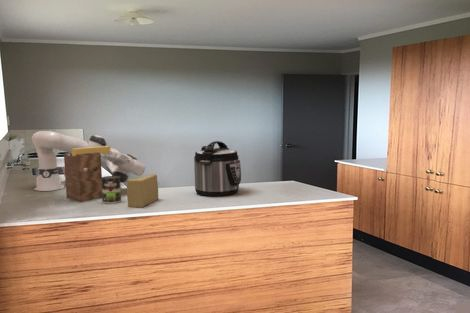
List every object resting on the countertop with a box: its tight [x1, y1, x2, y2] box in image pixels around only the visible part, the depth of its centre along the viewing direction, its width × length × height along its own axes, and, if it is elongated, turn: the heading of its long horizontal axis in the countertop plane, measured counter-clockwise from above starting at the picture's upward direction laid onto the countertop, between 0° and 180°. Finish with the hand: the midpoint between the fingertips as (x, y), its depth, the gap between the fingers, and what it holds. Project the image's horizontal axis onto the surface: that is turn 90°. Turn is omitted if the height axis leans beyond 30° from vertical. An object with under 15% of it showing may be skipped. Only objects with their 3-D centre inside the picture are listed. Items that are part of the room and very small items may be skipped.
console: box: [63, 152, 103, 203], centre depth 260 cm, size 14×19×27 cm
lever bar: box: [72, 145, 111, 156], centre depth 259 cm, size 22×4×4 cm, turn 135°
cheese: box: [126, 173, 159, 208], centre depth 243 cm, size 22×10×15 cm, turn 157°
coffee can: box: [101, 175, 122, 204], centre depth 249 cm, size 10×10×14 cm
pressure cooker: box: [193, 140, 242, 197], centre depth 268 cm, size 30×28×32 cm
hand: (104, 151), depth 264 cm, fingers open, 8 cm apart
